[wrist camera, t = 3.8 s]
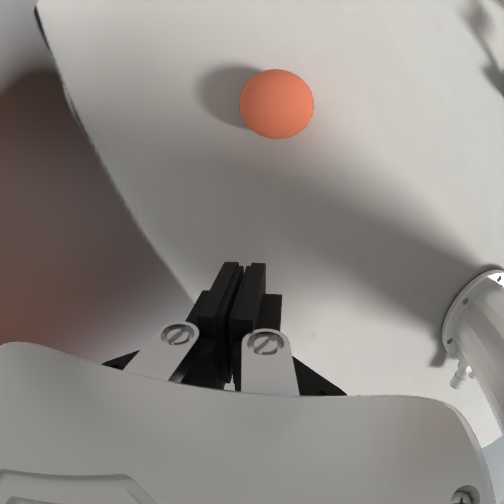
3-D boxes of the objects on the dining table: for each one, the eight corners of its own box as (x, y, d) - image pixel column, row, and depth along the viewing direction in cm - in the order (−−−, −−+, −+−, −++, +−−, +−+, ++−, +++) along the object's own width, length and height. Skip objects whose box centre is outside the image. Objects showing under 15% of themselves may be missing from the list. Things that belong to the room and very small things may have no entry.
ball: (311, 140, 22) (316, 138, 17) (246, 139, 22) (232, 138, 17) (310, 79, 20) (315, 61, 14) (245, 79, 20) (231, 62, 15)
